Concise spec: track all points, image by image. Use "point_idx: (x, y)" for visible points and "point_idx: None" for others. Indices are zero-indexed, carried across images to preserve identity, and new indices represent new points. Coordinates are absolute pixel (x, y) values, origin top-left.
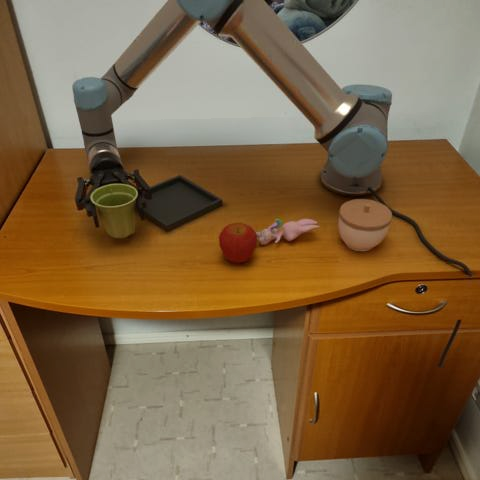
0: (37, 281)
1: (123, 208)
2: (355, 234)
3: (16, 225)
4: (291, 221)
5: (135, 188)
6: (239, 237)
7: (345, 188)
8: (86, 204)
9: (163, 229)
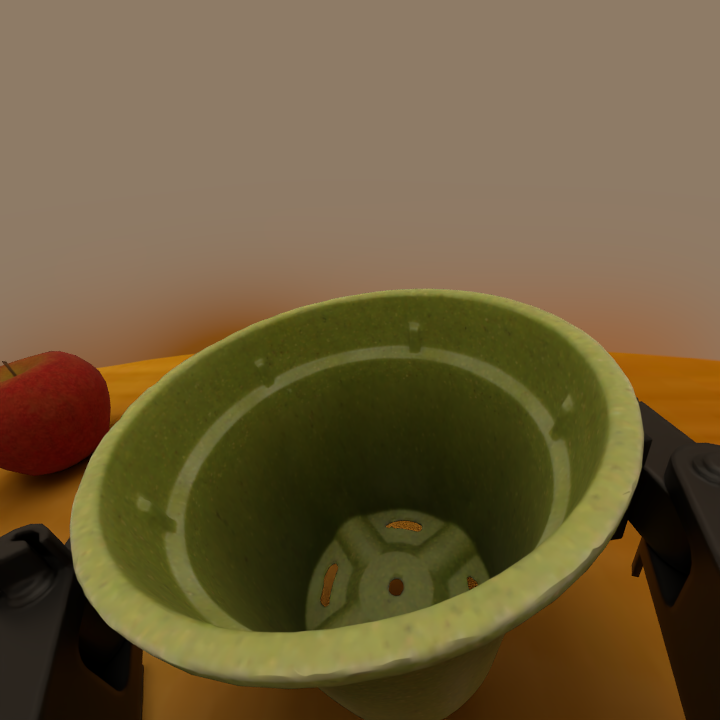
0: (695, 395)
1: (312, 339)
2: None
3: None
4: None
5: (5, 690)
6: (50, 351)
7: None
8: (665, 434)
9: (140, 705)
